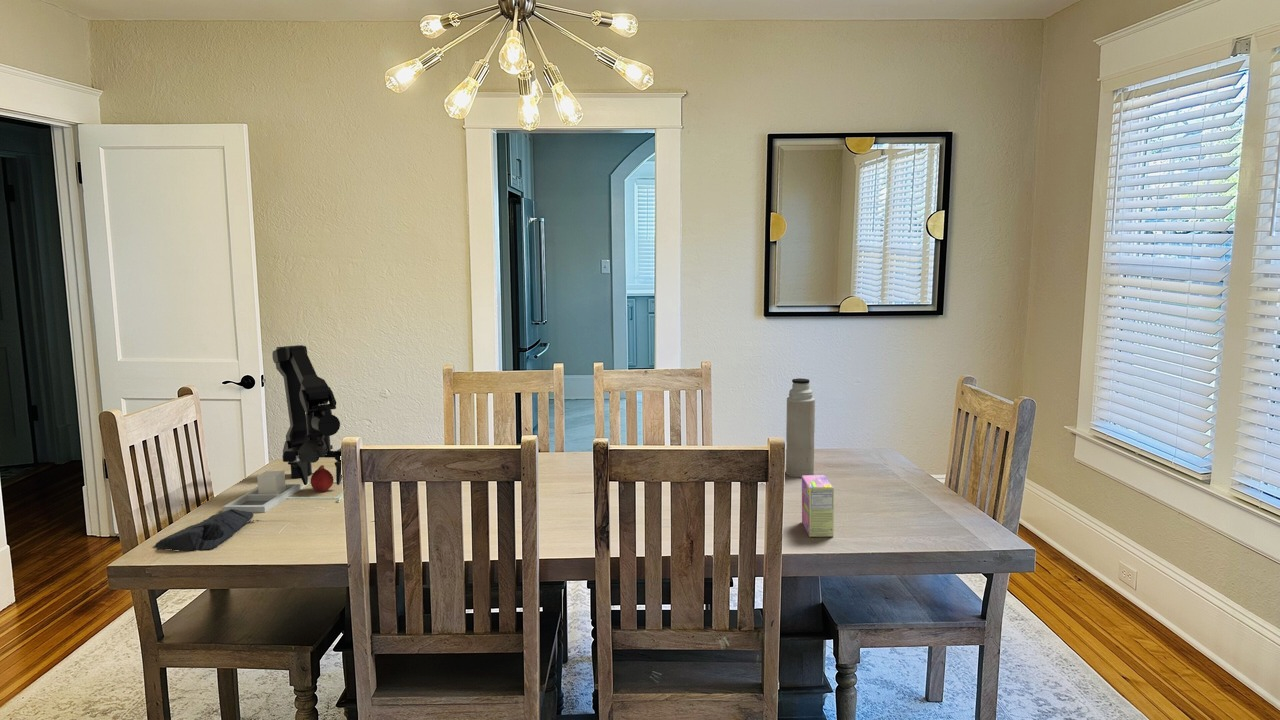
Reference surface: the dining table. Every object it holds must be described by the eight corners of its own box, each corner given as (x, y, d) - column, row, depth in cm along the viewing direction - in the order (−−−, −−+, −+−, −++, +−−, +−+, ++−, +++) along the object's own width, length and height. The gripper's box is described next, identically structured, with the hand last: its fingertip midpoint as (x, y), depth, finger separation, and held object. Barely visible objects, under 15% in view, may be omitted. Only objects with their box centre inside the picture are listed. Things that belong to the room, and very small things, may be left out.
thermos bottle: (810, 469, 240) (812, 376, 236) (816, 477, 232) (817, 381, 228) (783, 469, 240) (784, 377, 236) (788, 477, 232) (789, 381, 228)
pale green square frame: (307, 485, 232) (307, 481, 232) (362, 485, 231) (362, 480, 231) (280, 502, 216) (280, 498, 216) (339, 502, 215) (338, 498, 215)
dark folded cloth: (265, 521, 203) (264, 503, 202) (210, 554, 181) (208, 534, 180) (209, 519, 204) (207, 501, 204) (147, 552, 183) (145, 532, 182)
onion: (319, 498, 219) (317, 469, 218) (307, 494, 223) (305, 466, 222) (338, 492, 224) (336, 464, 223) (326, 489, 227) (324, 461, 226)
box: (800, 522, 195) (801, 474, 193) (824, 522, 194) (825, 474, 193) (808, 537, 184) (809, 487, 183) (833, 537, 184) (834, 487, 183)
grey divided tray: (263, 492, 225) (262, 483, 225) (301, 492, 225) (301, 483, 224) (223, 516, 205) (222, 506, 205) (265, 516, 205) (264, 506, 205)
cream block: (268, 492, 222) (266, 470, 221) (286, 492, 222) (284, 470, 221) (259, 497, 217) (257, 476, 216) (277, 497, 217) (275, 476, 216)
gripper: (270, 436, 213) (274, 493, 216) (339, 436, 213) (343, 493, 215) (290, 427, 224) (294, 481, 227) (356, 426, 224) (359, 481, 226)
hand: (322, 484), depth 223 cm, fingers open, 9 cm apart
